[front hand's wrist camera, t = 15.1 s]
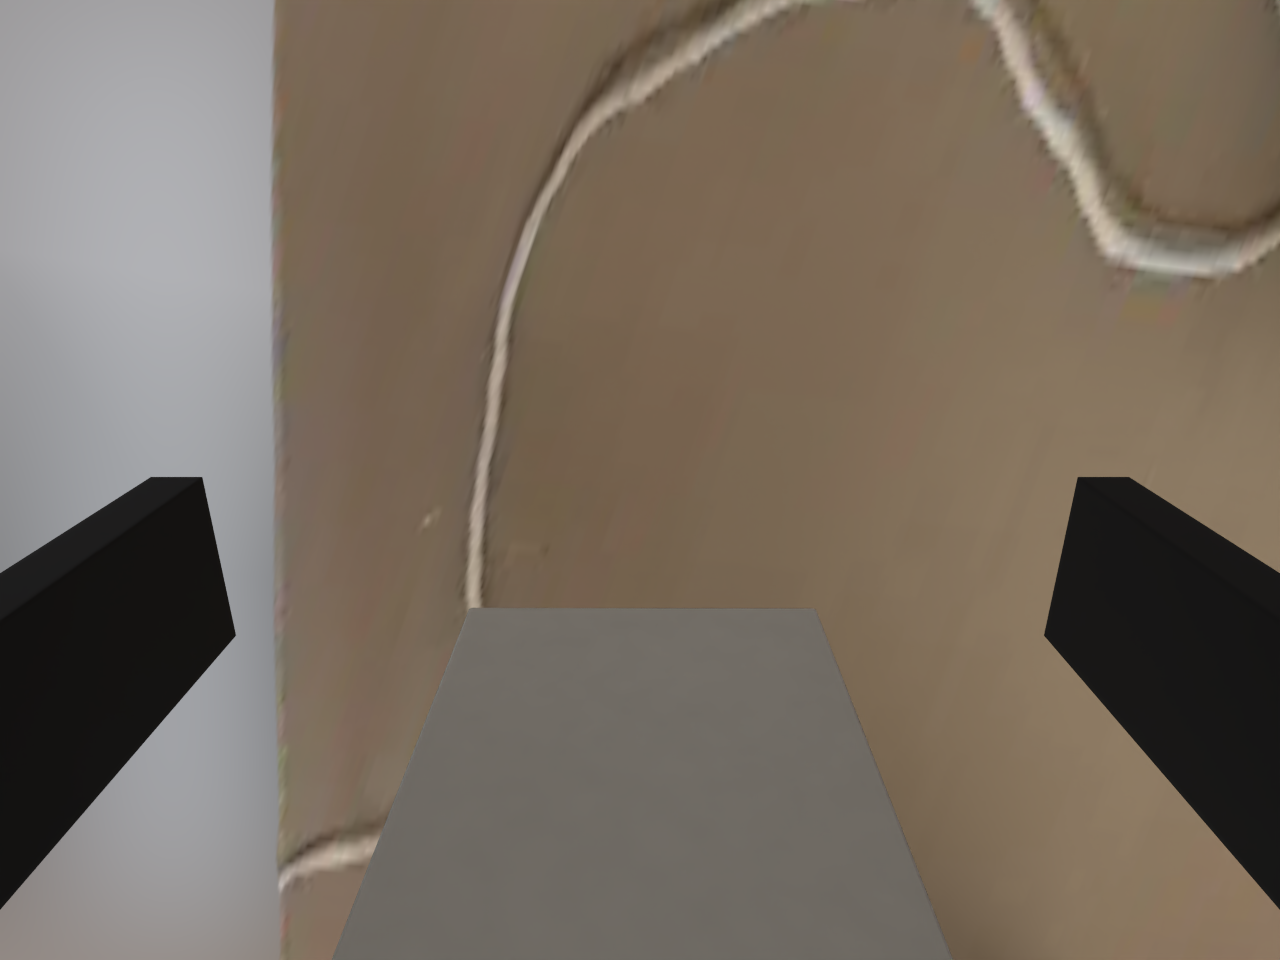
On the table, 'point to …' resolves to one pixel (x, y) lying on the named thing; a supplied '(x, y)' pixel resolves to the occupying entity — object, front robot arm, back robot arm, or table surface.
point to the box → (642, 800)
